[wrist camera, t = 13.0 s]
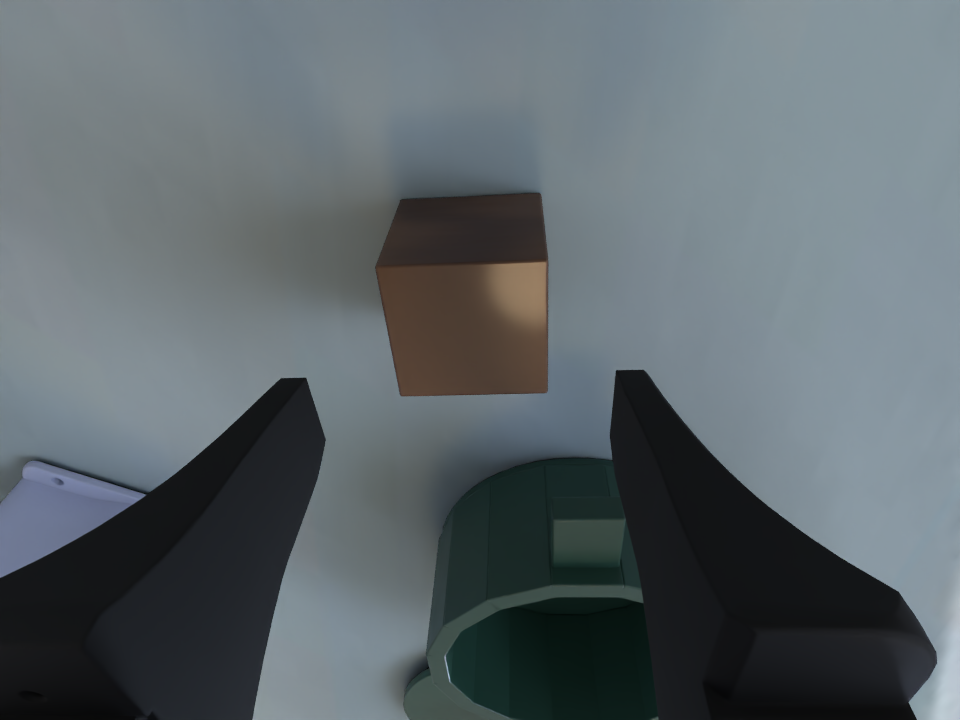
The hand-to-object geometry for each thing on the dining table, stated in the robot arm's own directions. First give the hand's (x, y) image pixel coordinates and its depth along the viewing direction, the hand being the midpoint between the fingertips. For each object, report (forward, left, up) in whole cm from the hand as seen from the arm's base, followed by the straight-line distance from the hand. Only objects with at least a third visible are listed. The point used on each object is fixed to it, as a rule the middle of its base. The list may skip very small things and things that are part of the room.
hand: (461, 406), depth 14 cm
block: (0, 0, -7) cm, 7 cm away
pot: (+11, -12, -7) cm, 18 cm away
